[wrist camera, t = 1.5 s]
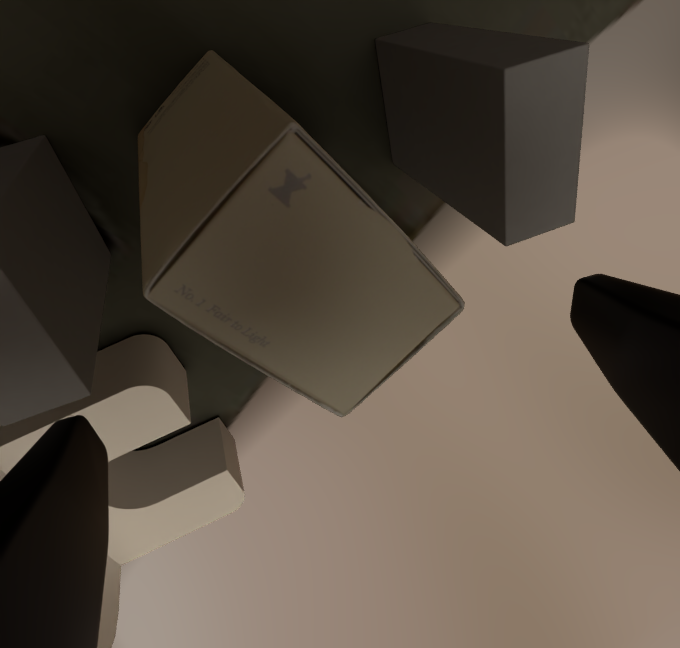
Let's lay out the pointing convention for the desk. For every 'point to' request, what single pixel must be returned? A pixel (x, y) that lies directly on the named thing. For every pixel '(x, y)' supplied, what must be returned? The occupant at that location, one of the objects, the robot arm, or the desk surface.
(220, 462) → the white slotted bracket
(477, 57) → the grey blocks
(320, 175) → the cosmetic box
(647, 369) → the robot arm
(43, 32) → the desk surface
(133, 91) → the desk surface
